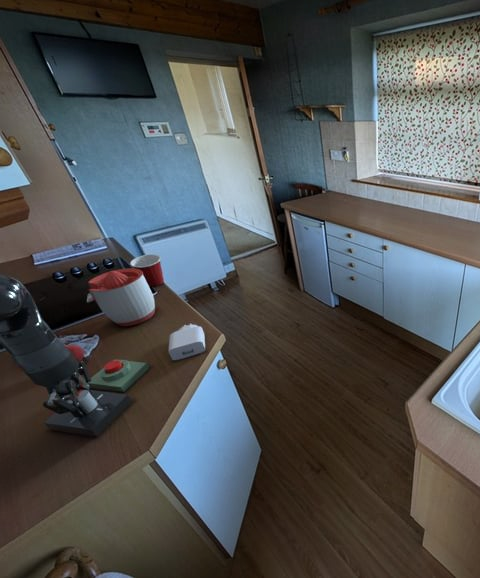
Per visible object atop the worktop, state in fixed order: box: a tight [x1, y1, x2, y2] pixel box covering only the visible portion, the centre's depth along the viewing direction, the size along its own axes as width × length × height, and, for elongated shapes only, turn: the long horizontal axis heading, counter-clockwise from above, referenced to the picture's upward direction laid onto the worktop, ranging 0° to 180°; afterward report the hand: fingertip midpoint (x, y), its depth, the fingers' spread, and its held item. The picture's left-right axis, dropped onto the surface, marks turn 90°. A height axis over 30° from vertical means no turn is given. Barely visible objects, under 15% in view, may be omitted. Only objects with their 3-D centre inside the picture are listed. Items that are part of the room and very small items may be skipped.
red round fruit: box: [65, 344, 85, 362], centre depth 88 cm, size 6×6×8 cm
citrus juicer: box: [86, 267, 156, 327], centre depth 105 cm, size 16×17×20 cm
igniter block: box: [88, 358, 150, 393], centre depth 85 cm, size 11×9×4 cm
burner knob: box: [68, 389, 98, 413], centre depth 73 cm, size 4×4×5 cm
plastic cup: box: [129, 253, 165, 287], centre depth 128 cm, size 11×11×12 cm
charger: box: [167, 323, 206, 361], centre depth 98 cm, size 5×9×15 cm
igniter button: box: [103, 359, 123, 374], centre depth 84 cm, size 4×4×2 cm
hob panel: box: [43, 389, 133, 438], centre depth 75 cm, size 13×10×3 cm
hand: (86, 407), depth 74 cm, fingers closed on burner knob, 4 cm apart
